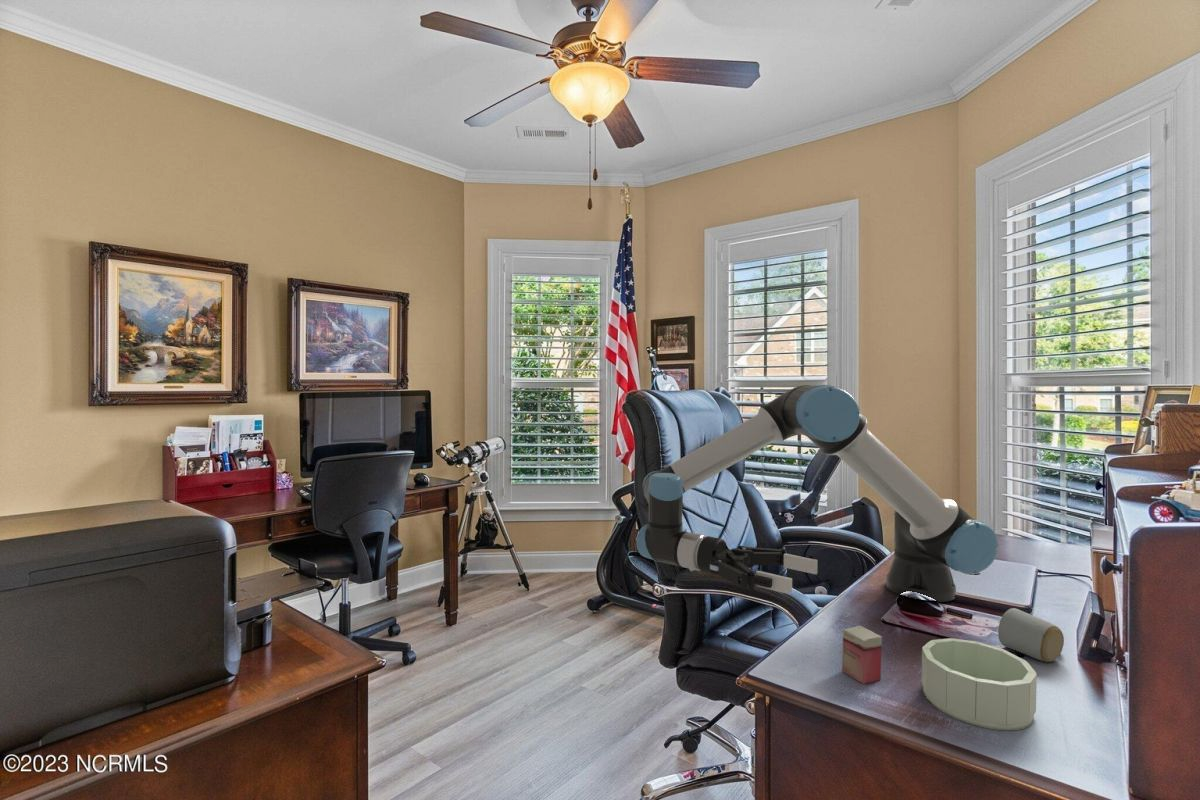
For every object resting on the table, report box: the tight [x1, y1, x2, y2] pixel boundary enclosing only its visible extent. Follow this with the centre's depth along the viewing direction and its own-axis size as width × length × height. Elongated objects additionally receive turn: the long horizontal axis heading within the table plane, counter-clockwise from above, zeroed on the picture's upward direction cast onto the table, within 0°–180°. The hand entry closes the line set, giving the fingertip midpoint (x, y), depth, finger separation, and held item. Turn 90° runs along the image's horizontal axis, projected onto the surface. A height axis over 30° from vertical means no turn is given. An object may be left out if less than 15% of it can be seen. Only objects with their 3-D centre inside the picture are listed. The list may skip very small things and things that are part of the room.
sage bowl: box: [921, 637, 1038, 732], centre depth 92 cm, size 15×15×7 cm
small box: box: [841, 625, 883, 685], centre depth 101 cm, size 5×4×8 cm
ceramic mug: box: [997, 607, 1065, 663], centre depth 109 cm, size 11×8×8 cm
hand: (804, 576), depth 106 cm, fingers open, 13 cm apart
